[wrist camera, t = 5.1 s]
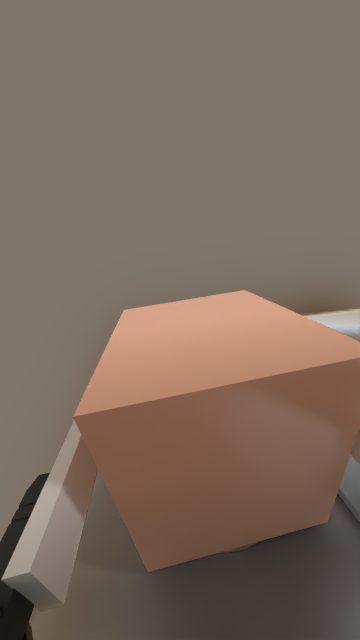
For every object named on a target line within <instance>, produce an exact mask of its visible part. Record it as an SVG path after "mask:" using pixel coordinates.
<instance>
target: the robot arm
mask: <svg viewBox="0 0 360 640" xmlns="http://www.w3.org/2000/svg"><path fill="white" fill-rule="evenodd" d="M351 456H352V457H353V458H354V459H355V460H356V461H357V462H358V463H359V464H360V428H359V431H358V434H357V437H356V440H355V443H354V446H353V449H352V452H351ZM97 470H98V468H97V466H96V464H95V462H94V460H93V458H92V456H91V454H90V451H89V449H88V447H87V445H86V443H85V441H84V439H83V437H82V435H81V433H80V431H79V429H78V427H77V424H76V422H75V420H74V421H73V423H72V426H71V428H70V430H69V432H68V434H67V437H66V439H65V441H64V443H63V445H62V448H61V450H60V452H59V454H58V456H57V459H56V461H55V463H54V465H53V467H52V470H51V472H50V473H47V474H42V475H39V476H38V477H37V478H36V480H35V481H34V482H33V484H32V485H31V486H30V487H29V488H28V490H27V491H26V493H25V495H24V497H23V499H22V501H21V503H20V505H19V509H18V510H17V511H16V513H15V515H14V517H13V518H12V522H11V524H9V526H8V528H7V530H6V532H5V534H4V536H3V538H2V540H1V542H0V640H33V636H32V630H31V626H30V624H29V620H30V617H31V614H32V611H33V608H34V606H35V607H36V608H38V609H39V610H40V611H44V610H48V609H51V608H55V607H58V606H61V605H65V600H66V596H67V592H68V588H69V584H70V580H71V576H72V572H73V568H74V564H75V560H76V556H77V552H78V548H79V543H80V539H81V535H82V531H83V527H84V523H85V519H86V515H87V511H88V507H89V503H90V499H91V495H92V491H93V486H94V482H95V478H96V474H97Z"/></svg>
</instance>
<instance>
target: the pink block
mask: <svg viewBox="0 0 360 640" xmlns="http://www.w3.org/2000/svg"><path fill="white" fill-rule="evenodd" d="M73 418H74V420H75V422H76V424H77V427H78V429H79V431H80V433H81V435H82V437H83V439H84V441H85V443H86V445H87V447H88V449H89V451H90V454H91V456H92V458H93V460H94V462H95V464H96V466H97V468H98V470H99V472H100V474H101V476H102V478H103V480H104V483H105V485H106V487H107V489H108V491H109V493H110V495H111V497H112V499H113V501H114V503H115V505H116V507H117V510H118V512H119V514H120V516H121V518H122V520H123V522H124V524H125V526H126V528H127V530H128V532H129V534H130V536H131V539H132V541H133V543H134V545H135V547H136V549H137V551H138V553H139V555H140V557H141V559H142V561H143V563H144V566H145V568H146V570H147V572H151V571H155V570H158V569H162V568H166V567H169V566H173V565H176V564H180V563H184V562H187V561H191V560H194V559H198V558H201V557H205V556H209V555H212V554H216V553H219V552H223V551H226V550H230V549H234V548H237V547H241V546H244V545H248V544H252V543H255V542H259V541H262V540H266V539H269V538H273V537H277V536H280V535H284V534H287V533H291V532H295V531H298V530H302V529H305V528H309V527H312V526H316V525H320V524H323V523H327V522H328V521H329V518H330V515H331V512H332V509H333V506H334V503H335V500H336V497H337V494H338V491H339V488H340V485H341V482H342V479H343V476H344V473H345V470H346V467H347V464H348V461H349V458H350V455H351V452H352V449H353V446H354V443H355V440H356V437H357V434H358V431H359V428H360V341H358V340H356V339H353V338H351V337H349V336H347V335H344V334H342V333H340V332H338V331H335V330H333V329H331V328H329V327H326V326H324V325H322V324H320V323H317V322H315V321H313V320H311V319H308V318H306V317H304V316H302V315H299V314H297V313H295V312H293V311H290V310H288V309H286V308H284V307H281V306H279V305H277V304H275V303H272V302H270V301H268V300H265V299H263V298H261V297H259V296H257V295H254V294H252V293H250V292H248V291H245V290H243V291H237V292H231V293H225V294H219V295H213V296H207V297H201V298H195V299H188V300H182V301H176V302H171V303H164V304H158V305H152V306H146V307H140V308H134V309H128V310H124V311H123V313H122V316H121V318H120V320H119V322H118V324H117V326H116V328H115V330H114V332H113V334H112V336H111V338H110V340H109V343H108V345H107V347H106V349H105V351H104V353H103V355H102V357H101V359H100V361H99V363H98V365H97V368H96V370H95V372H94V374H93V376H92V378H91V380H90V382H89V384H88V386H87V388H86V390H85V393H84V395H83V397H82V399H81V401H80V403H79V405H78V407H77V409H76V411H75V413H74V415H73Z"/></svg>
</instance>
